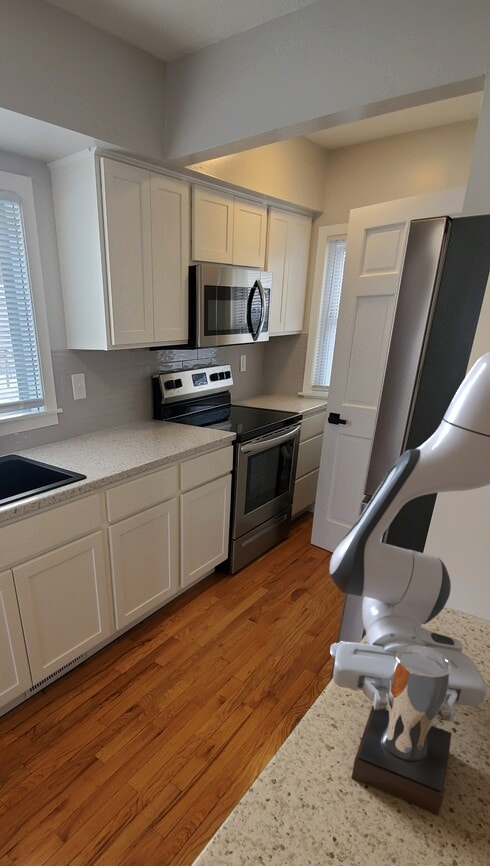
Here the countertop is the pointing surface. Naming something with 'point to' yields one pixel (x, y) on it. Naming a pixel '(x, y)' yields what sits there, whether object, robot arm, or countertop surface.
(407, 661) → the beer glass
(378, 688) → the robot arm
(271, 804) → the countertop surface
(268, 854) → the countertop surface
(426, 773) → the riser
